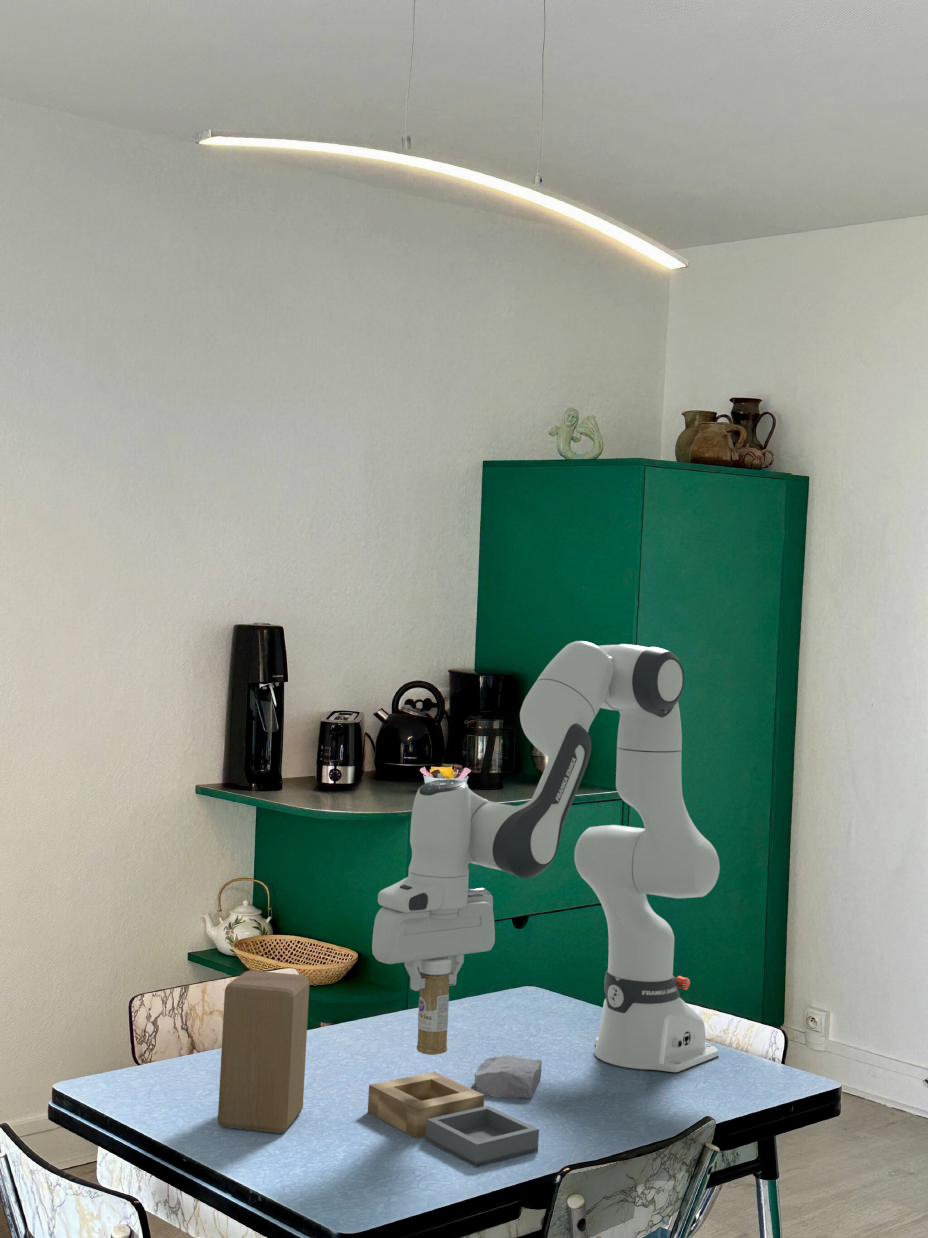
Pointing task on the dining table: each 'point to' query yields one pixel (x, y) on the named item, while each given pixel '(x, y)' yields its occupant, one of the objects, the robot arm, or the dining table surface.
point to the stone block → (508, 1076)
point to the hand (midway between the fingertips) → (433, 987)
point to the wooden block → (263, 1051)
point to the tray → (482, 1135)
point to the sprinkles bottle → (434, 1006)
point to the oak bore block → (420, 1101)
